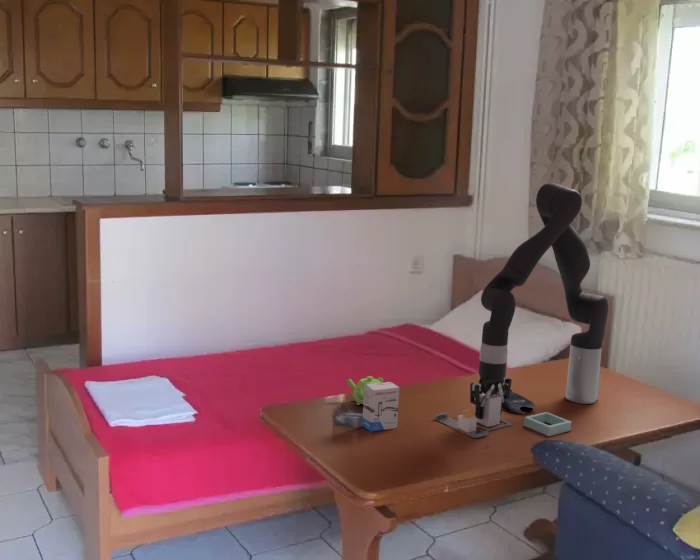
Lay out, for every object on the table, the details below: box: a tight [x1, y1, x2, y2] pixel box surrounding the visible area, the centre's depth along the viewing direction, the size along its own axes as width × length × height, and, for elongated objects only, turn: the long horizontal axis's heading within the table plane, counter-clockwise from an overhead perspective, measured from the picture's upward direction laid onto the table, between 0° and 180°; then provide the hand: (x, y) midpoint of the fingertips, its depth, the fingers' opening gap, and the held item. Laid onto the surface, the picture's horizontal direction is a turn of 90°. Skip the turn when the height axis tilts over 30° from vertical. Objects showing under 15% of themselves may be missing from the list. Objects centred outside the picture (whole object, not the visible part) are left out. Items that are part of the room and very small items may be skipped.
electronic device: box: [502, 388, 536, 415], centre depth 242 cm, size 9×6×15 cm
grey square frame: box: [474, 416, 513, 432], centre depth 227 cm, size 10×10×1 cm
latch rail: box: [434, 411, 489, 439], centre depth 222 cm, size 4×17×1 cm, turn 35°
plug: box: [477, 393, 502, 428], centre depth 226 cm, size 4×4×9 cm
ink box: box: [361, 381, 400, 433], centre depth 218 cm, size 9×5×12 cm, turn 117°
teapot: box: [346, 375, 384, 404], centre depth 236 cm, size 11×12×8 cm
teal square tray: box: [523, 411, 573, 437], centre depth 224 cm, size 9×9×2 cm
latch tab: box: [457, 408, 478, 432], centre depth 219 cm, size 3×4×6 cm
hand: (488, 416), depth 226 cm, fingers open, 6 cm apart
